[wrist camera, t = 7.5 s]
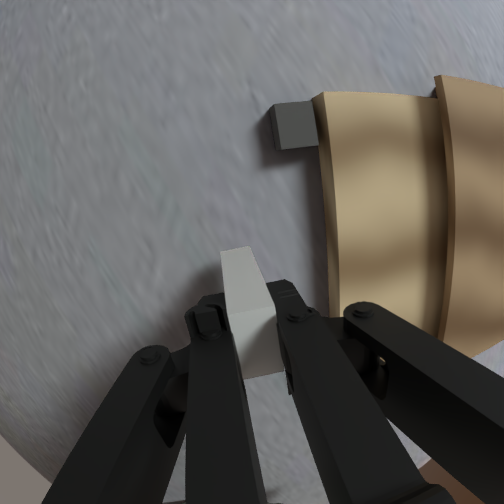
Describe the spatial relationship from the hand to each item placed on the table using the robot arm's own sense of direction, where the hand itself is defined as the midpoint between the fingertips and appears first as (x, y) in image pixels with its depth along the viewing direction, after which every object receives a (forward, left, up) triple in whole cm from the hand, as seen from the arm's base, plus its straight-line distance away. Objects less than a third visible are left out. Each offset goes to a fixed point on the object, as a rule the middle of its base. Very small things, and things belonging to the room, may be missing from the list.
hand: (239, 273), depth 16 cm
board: (0, +18, -2) cm, 19 cm away
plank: (+1, +11, -4) cm, 11 cm away
